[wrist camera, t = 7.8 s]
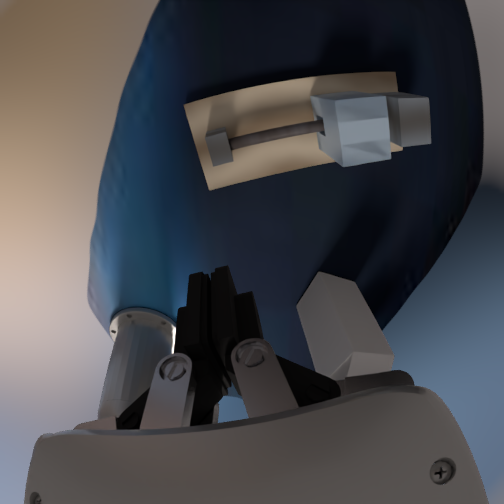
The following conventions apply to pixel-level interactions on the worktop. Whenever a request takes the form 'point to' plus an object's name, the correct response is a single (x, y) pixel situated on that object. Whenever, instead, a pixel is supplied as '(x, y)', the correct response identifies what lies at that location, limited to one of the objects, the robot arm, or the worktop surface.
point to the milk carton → (342, 330)
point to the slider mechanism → (289, 125)
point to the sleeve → (353, 127)
